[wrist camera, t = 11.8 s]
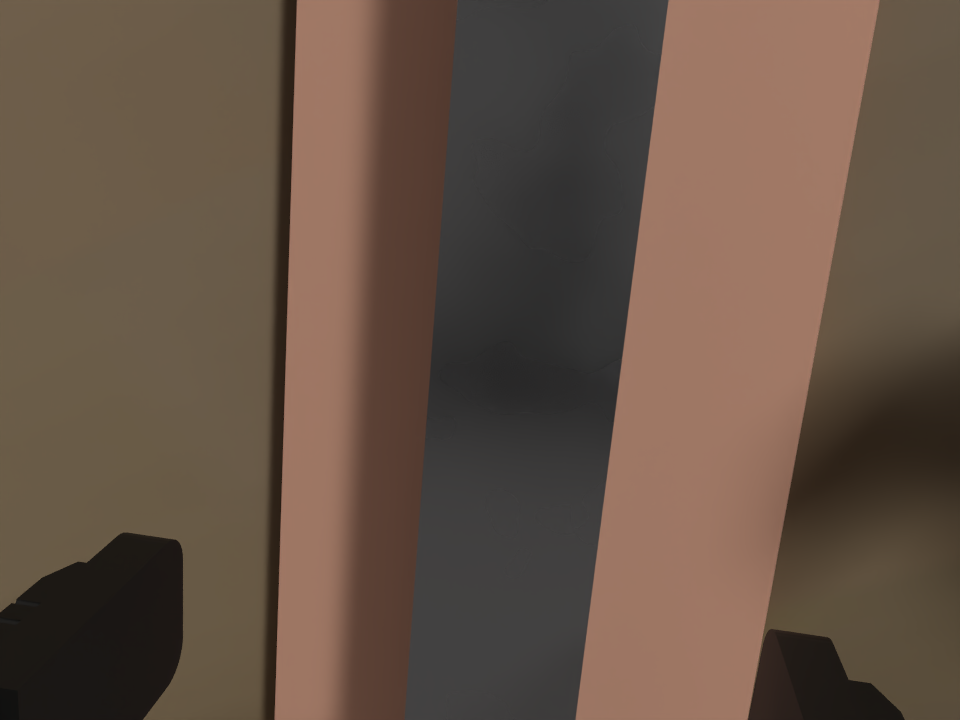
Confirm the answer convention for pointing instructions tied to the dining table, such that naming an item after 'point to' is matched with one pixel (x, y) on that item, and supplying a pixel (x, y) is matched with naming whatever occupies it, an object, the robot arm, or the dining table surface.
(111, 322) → the dining table surface
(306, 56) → the mat
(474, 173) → the rail
